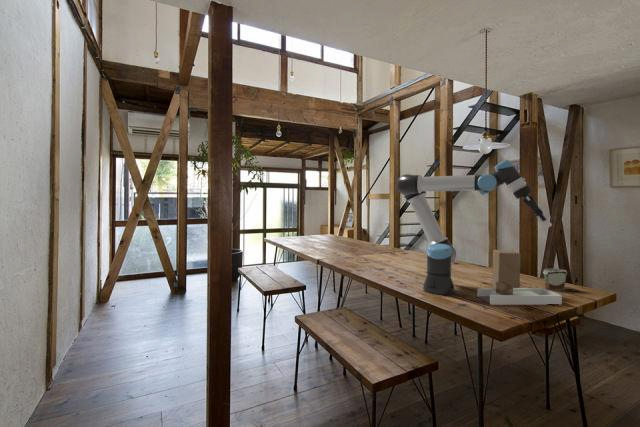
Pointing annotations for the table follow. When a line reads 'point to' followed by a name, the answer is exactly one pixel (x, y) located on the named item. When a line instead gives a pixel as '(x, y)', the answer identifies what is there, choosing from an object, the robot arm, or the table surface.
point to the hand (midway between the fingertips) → (547, 225)
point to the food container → (555, 279)
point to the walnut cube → (504, 288)
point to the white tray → (520, 296)
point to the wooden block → (506, 267)
